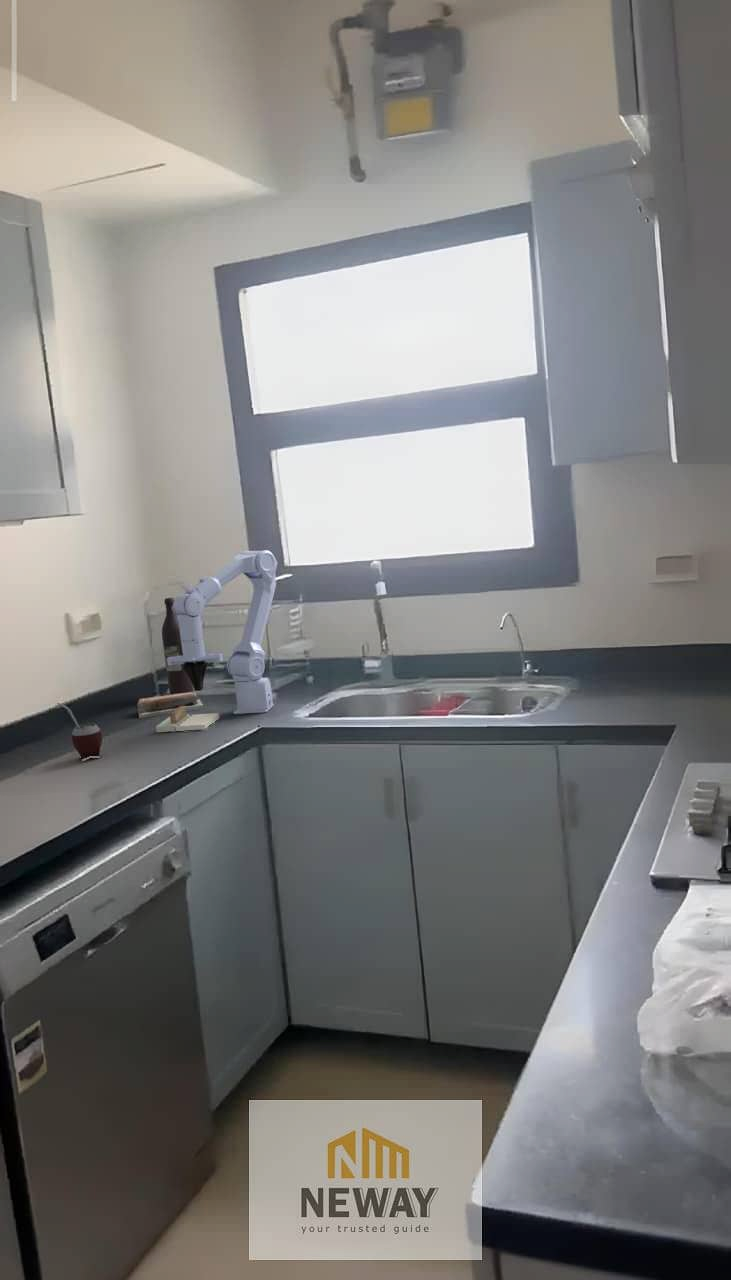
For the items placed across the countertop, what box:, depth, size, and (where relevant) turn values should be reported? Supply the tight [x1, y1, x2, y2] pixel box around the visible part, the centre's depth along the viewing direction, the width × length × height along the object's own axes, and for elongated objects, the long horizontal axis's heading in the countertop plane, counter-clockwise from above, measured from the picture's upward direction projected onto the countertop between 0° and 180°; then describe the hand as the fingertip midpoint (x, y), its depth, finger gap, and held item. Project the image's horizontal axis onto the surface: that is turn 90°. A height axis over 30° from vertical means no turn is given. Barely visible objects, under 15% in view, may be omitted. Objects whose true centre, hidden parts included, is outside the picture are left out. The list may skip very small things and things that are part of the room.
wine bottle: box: [161, 597, 195, 695], centre depth 317 cm, size 7×7×30 cm
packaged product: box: [136, 691, 204, 719], centre depth 303 cm, size 18×5×10 cm
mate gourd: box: [56, 702, 103, 760], centre depth 257 cm, size 8×8×15 cm
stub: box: [155, 706, 190, 733], centre depth 282 cm, size 5×12×4 cm, turn 170°
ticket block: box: [175, 712, 220, 732], centre depth 281 cm, size 8×12×2 cm, turn 170°
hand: (198, 690), depth 279 cm, fingers closed
